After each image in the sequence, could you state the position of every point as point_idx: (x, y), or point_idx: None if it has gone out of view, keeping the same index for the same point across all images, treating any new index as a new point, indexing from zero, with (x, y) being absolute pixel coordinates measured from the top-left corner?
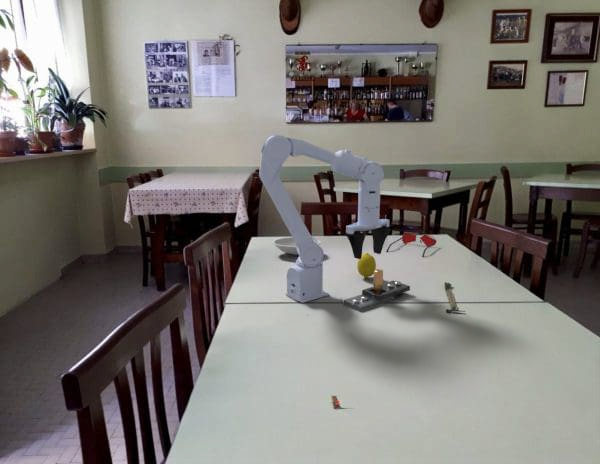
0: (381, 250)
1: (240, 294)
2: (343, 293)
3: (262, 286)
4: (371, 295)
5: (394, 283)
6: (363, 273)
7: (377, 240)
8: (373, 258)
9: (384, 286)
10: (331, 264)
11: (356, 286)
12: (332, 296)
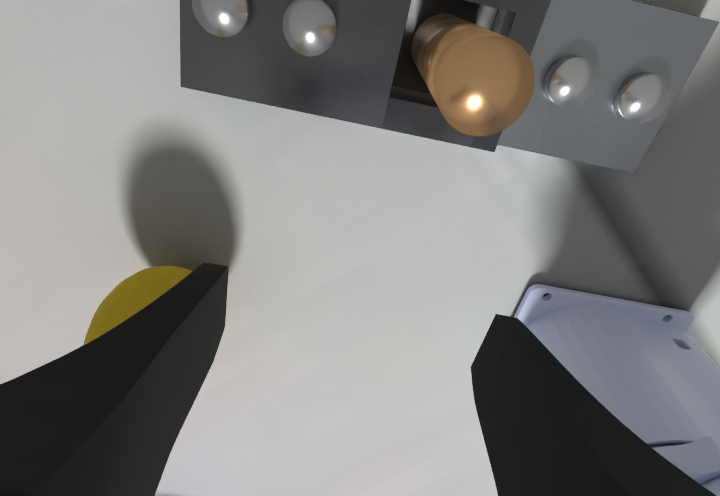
0: (190, 277)
1: None
2: (464, 249)
3: None
4: None
5: (227, 41)
6: None
7: (163, 415)
8: None
9: (337, 67)
10: (172, 464)
11: (330, 255)
12: (534, 265)
